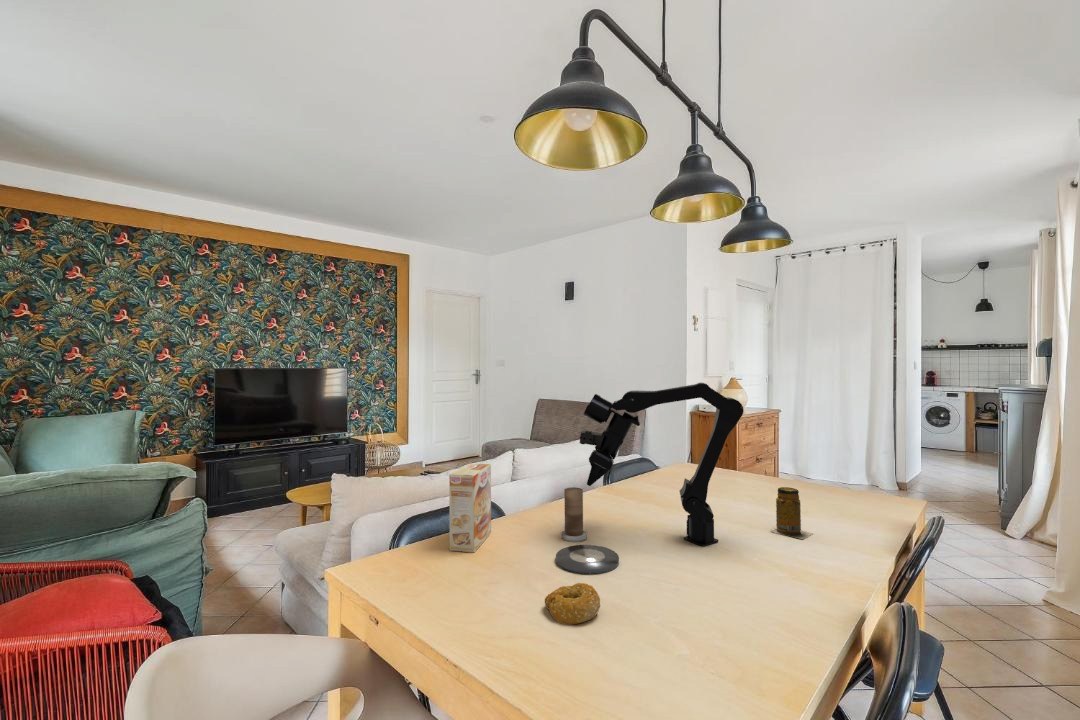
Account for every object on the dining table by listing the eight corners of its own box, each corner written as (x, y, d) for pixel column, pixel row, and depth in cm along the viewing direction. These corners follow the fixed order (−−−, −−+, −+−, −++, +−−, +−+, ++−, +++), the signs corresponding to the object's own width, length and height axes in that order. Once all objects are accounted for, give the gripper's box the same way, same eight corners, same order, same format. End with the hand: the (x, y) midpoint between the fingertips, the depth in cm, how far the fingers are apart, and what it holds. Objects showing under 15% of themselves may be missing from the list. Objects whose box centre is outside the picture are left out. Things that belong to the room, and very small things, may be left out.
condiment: (782, 526, 140) (781, 484, 140) (813, 534, 134) (812, 490, 134) (770, 532, 136) (769, 488, 136) (802, 540, 129) (801, 495, 129)
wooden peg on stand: (592, 538, 132) (591, 490, 132) (570, 544, 128) (570, 494, 128) (577, 531, 138) (576, 485, 138) (556, 536, 134) (555, 488, 134)
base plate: (632, 565, 114) (632, 559, 114) (579, 580, 106) (579, 573, 106) (593, 545, 127) (593, 540, 127) (544, 557, 119) (544, 551, 119)
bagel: (564, 594, 100) (564, 571, 100) (610, 611, 93) (610, 586, 93) (533, 614, 92) (532, 589, 92) (581, 634, 85) (580, 607, 85)
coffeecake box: (474, 553, 122) (474, 475, 123) (448, 551, 124) (447, 474, 124) (492, 533, 137) (492, 463, 137) (468, 531, 138) (467, 462, 139)
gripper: (594, 415, 145) (570, 460, 147) (585, 422, 127) (558, 474, 129) (627, 433, 143) (603, 479, 144) (624, 443, 125) (596, 495, 126)
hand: (590, 481), depth 136 cm, fingers open, 9 cm apart
